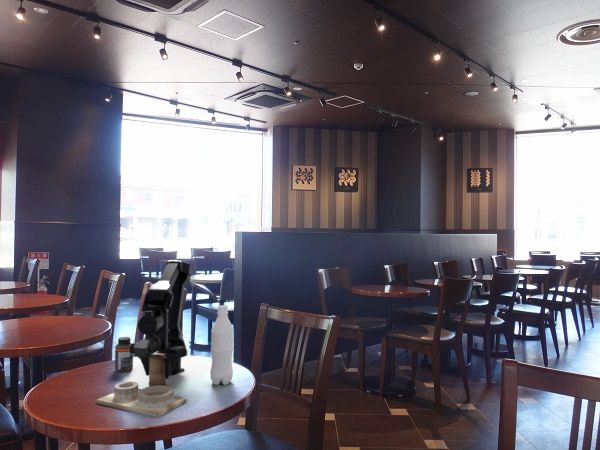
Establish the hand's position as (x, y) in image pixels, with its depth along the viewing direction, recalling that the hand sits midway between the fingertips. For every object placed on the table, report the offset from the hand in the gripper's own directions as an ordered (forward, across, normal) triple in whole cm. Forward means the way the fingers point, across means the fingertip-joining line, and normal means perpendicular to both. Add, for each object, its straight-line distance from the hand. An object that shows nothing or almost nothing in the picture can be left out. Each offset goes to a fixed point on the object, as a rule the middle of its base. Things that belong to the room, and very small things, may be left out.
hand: (157, 377), depth 142 cm
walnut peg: (+3, 0, 0) cm, 3 cm away
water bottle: (+3, +16, +12) cm, 20 cm away
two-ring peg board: (+3, +5, -12) cm, 13 cm away
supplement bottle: (+3, -22, +8) cm, 24 cm away
